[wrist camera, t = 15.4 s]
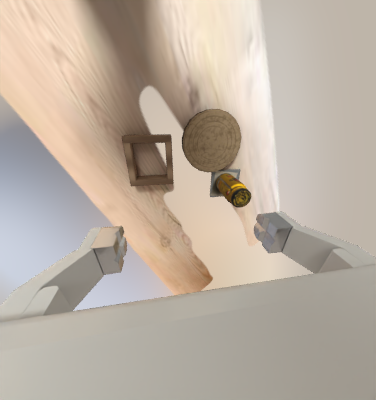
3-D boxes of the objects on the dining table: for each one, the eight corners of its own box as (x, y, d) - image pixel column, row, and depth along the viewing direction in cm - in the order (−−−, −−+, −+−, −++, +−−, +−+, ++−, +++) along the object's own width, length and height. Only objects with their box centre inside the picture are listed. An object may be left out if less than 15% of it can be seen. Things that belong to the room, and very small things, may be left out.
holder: (124, 135, 39) (121, 136, 36) (170, 134, 41) (171, 135, 38) (132, 181, 45) (131, 186, 42) (172, 179, 47) (173, 183, 44)
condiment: (237, 172, 48) (258, 187, 38) (230, 196, 52) (248, 216, 42) (215, 170, 47) (231, 185, 37) (210, 195, 51) (223, 215, 40)
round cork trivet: (224, 96, 39) (229, 95, 36) (243, 152, 47) (248, 154, 44) (170, 130, 41) (171, 130, 38) (197, 178, 48) (199, 182, 46)
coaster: (211, 170, 47) (212, 170, 47) (239, 168, 49) (240, 169, 48) (209, 196, 52) (210, 197, 51) (235, 194, 53) (236, 195, 52)
